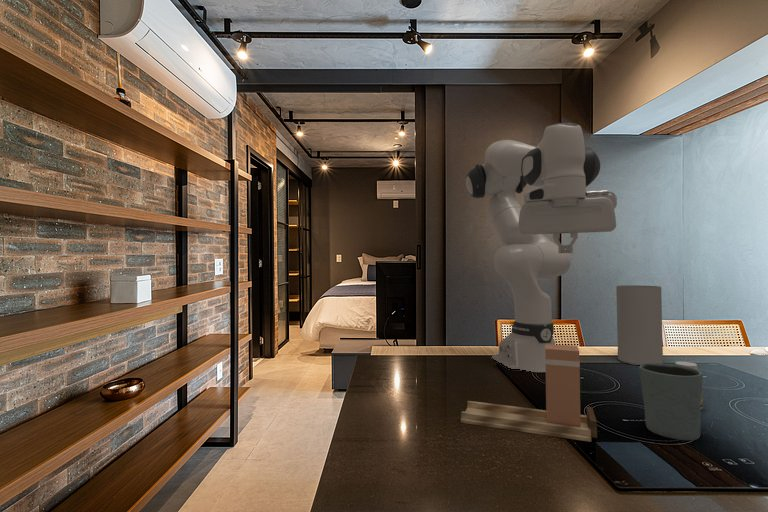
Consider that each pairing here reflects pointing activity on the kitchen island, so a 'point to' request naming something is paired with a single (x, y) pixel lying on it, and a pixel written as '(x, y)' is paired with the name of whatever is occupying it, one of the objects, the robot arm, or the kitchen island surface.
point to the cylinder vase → (639, 324)
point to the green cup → (672, 400)
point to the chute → (527, 420)
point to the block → (562, 385)
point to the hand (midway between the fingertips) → (565, 253)
